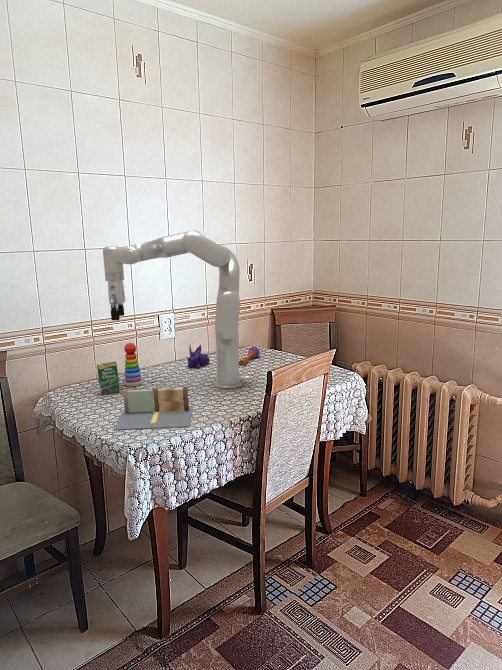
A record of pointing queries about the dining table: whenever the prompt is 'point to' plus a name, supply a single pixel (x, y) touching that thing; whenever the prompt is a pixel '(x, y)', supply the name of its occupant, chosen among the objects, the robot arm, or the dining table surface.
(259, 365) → the dining table surface
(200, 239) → the robot arm
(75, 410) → the dining table surface
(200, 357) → the creature
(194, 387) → the dining table surface
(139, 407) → the fence gate
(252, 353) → the kendama
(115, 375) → the coffee box
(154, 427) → the card
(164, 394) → the fence fixed
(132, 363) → the stacking toy
